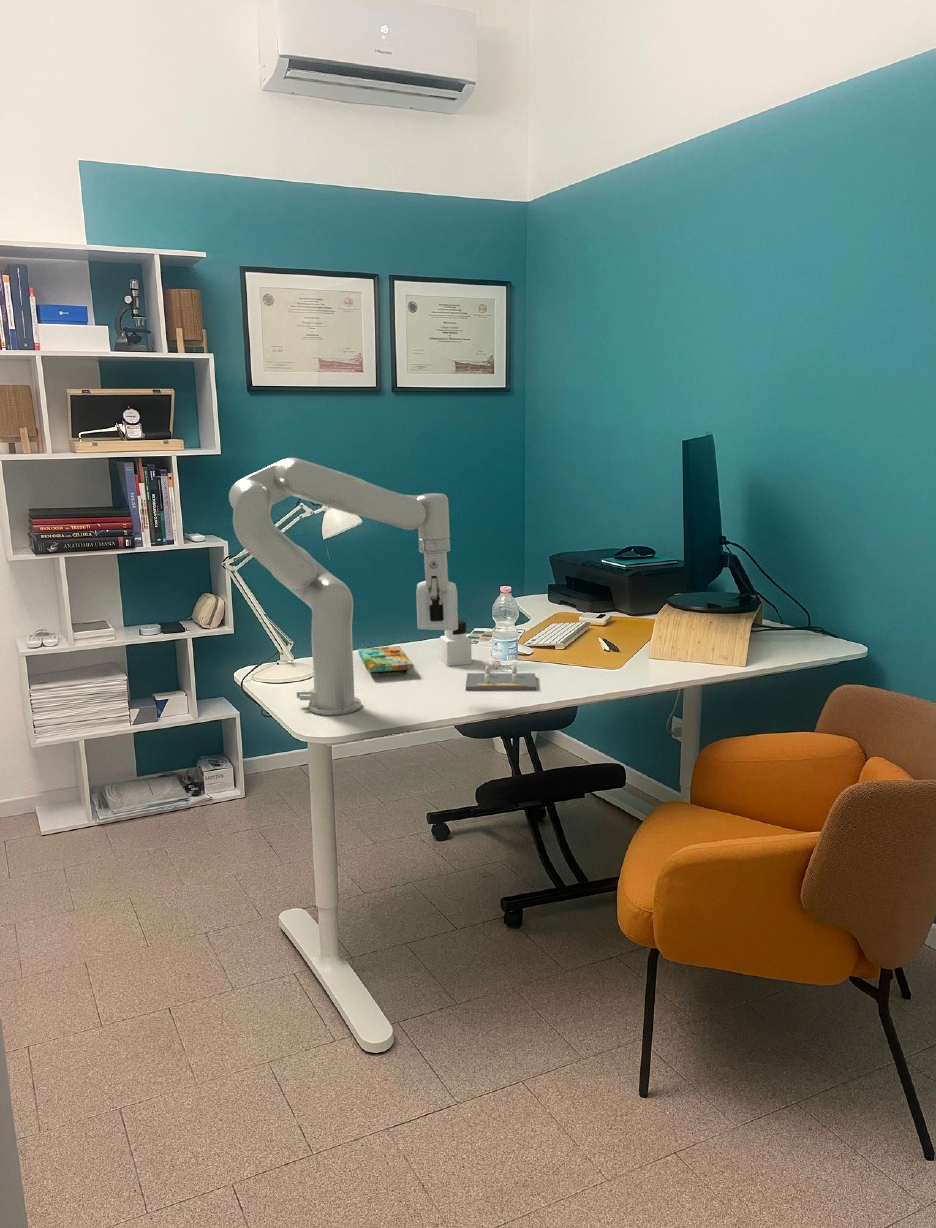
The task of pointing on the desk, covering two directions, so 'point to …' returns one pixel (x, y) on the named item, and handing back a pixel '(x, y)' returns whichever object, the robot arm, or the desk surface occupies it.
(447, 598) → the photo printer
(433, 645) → the desk surface
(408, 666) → the puzzle game
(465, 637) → the medicine bottle
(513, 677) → the pin tray
